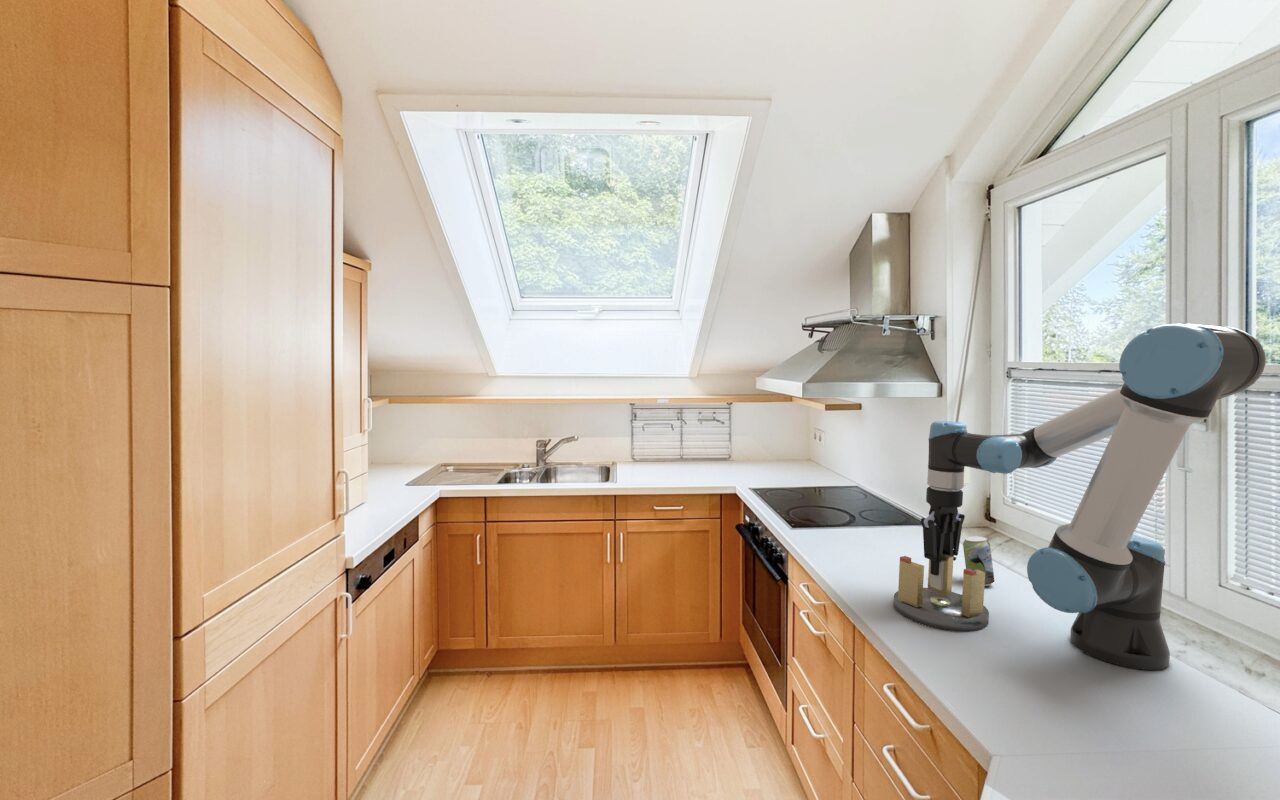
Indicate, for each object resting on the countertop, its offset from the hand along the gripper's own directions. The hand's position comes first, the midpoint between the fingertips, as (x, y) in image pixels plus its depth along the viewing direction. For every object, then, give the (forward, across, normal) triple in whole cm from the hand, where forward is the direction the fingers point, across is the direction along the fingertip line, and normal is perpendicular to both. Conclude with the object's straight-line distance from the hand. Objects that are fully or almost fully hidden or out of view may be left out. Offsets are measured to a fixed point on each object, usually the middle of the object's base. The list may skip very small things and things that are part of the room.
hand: (939, 586), depth 139 cm
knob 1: (+1, +12, +1) cm, 12 cm away
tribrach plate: (+3, +6, +4) cm, 8 cm away
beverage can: (+4, -19, -2) cm, 20 cm away
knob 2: (+1, 0, 0) cm, 1 cm away
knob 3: (+1, +5, +11) cm, 12 cm away
